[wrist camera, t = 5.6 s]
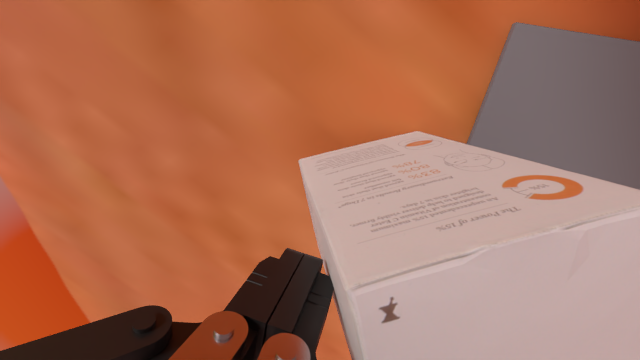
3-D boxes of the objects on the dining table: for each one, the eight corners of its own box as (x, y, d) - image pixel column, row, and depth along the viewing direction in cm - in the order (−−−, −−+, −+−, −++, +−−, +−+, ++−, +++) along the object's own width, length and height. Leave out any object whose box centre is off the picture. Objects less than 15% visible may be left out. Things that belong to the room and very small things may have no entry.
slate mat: (512, 24, 16) (516, 22, 15) (840, 75, 14) (858, 76, 13) (398, 320, 25) (398, 326, 24) (587, 385, 22) (591, 393, 22)
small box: (317, 247, 20) (383, 485, 8) (296, 157, 18) (339, 287, 6) (429, 217, 21) (653, 396, 9) (420, 128, 19) (688, 192, 7)
